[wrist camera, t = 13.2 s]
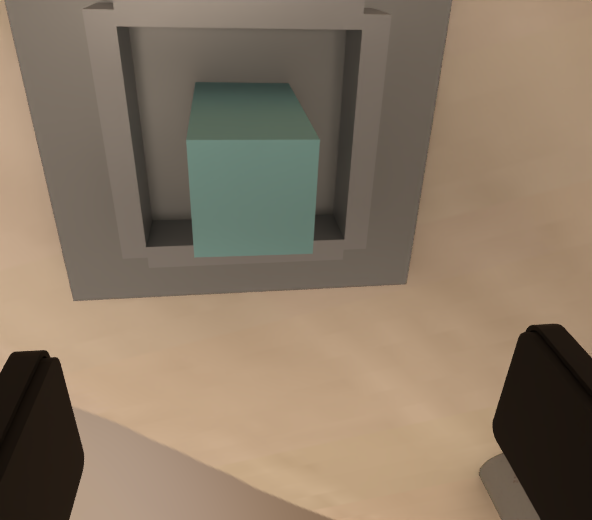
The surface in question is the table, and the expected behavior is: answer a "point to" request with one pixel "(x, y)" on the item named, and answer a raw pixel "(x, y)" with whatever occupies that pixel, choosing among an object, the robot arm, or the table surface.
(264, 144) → the block
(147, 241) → the well
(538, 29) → the table surface
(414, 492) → the table surface
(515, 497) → the flask
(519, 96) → the table surface
